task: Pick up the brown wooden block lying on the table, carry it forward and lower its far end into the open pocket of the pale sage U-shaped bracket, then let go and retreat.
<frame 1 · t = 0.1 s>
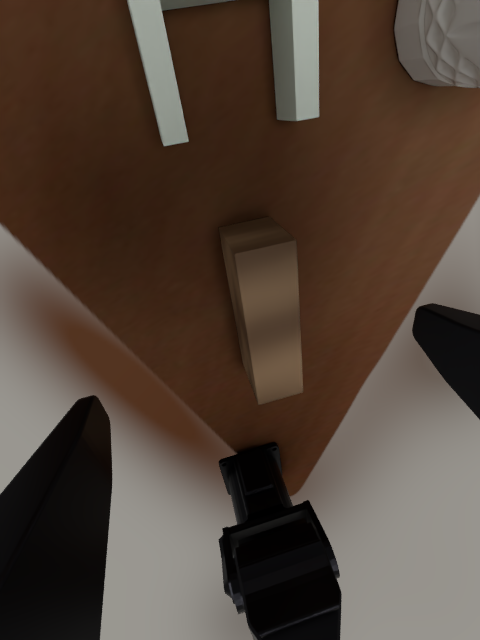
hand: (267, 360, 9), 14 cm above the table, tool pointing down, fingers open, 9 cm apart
brown wooden block: (253, 298, 25), on the table
bracket: (222, 71, 17), on the table
white cup: (445, 11, 18), on the table
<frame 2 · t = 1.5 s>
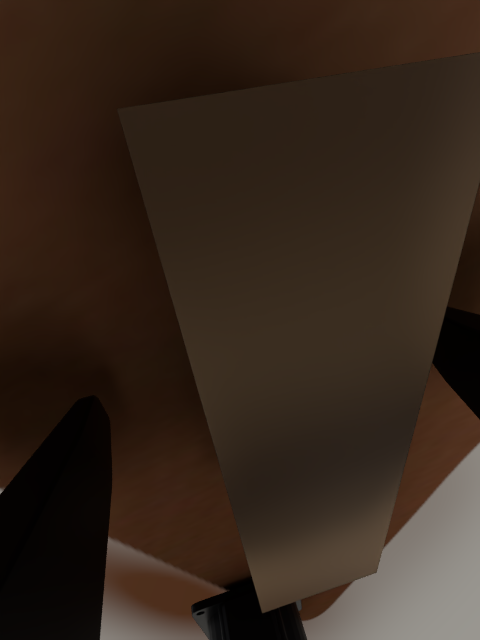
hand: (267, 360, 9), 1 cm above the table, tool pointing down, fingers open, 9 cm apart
brown wooden block: (252, 329, 10), on the table
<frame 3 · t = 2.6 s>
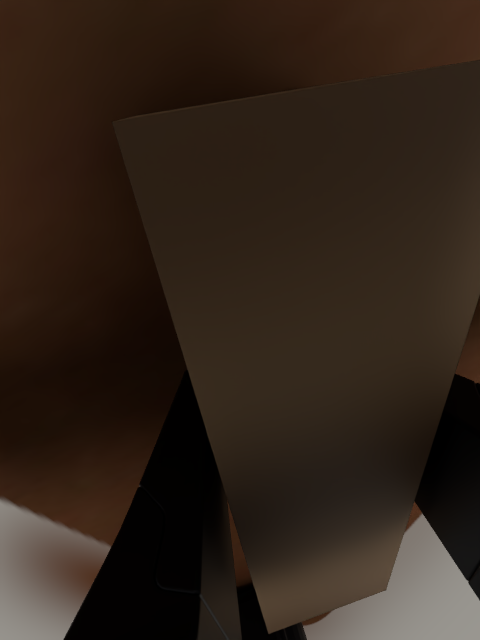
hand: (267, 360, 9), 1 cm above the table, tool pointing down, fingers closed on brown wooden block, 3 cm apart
brown wooden block: (256, 339, 10), on the table, touching gripper
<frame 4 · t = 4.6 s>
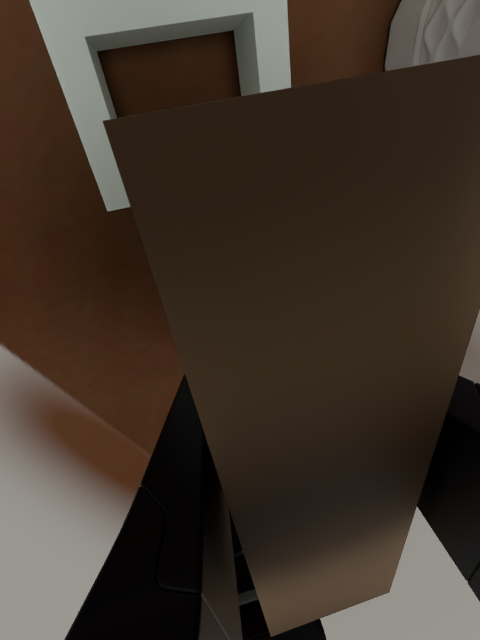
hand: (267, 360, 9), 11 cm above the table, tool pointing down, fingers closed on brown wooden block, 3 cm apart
brown wooden block: (256, 339, 10), point 10 cm above the table, touching gripper
bracket: (182, 116, 14), on the table
white cup: (445, 43, 16), on the table
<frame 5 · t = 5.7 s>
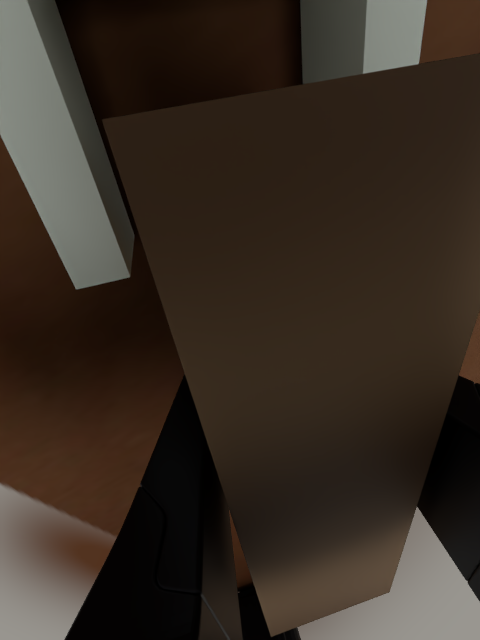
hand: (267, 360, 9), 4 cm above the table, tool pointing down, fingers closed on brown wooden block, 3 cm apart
brown wooden block: (256, 339, 10), point 3 cm above the table, touching gripper
bracket: (206, 119, 9), on the table
when the fingers open (2 cm above the table, at t = 6.6 s): brown wooden block drops 2 cm, on the table.
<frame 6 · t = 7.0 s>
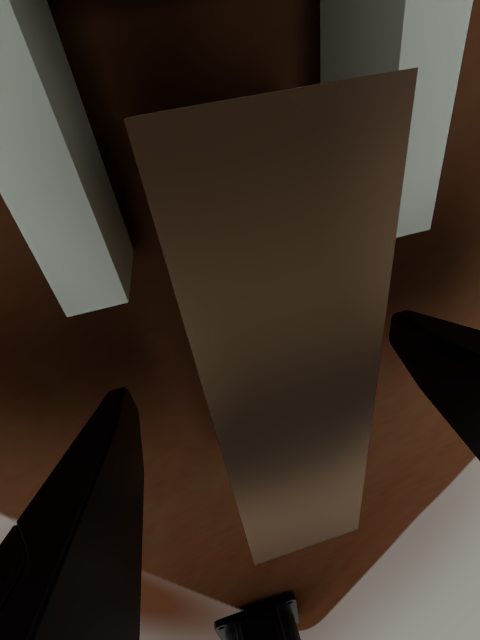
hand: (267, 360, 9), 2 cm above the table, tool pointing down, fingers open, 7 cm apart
brown wooden block: (243, 311, 11), on the table
bracket: (213, 122, 8), on the table
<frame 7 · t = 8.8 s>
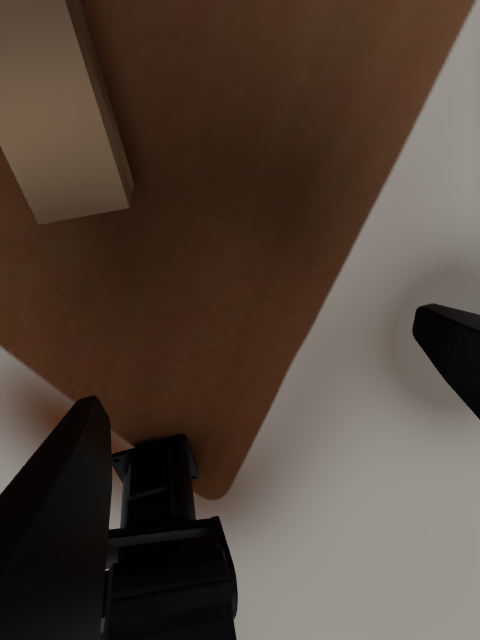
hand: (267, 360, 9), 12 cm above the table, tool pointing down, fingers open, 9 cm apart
brown wooden block: (47, 38, 14), on the table
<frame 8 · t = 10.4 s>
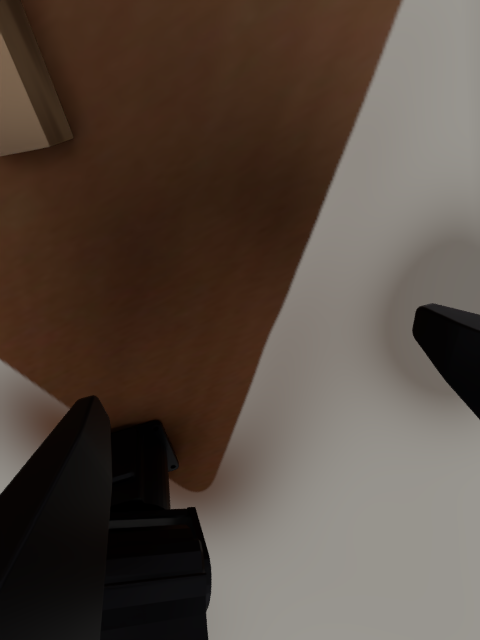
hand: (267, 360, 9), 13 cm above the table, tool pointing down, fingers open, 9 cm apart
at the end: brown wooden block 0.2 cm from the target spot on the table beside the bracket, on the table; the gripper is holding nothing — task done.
